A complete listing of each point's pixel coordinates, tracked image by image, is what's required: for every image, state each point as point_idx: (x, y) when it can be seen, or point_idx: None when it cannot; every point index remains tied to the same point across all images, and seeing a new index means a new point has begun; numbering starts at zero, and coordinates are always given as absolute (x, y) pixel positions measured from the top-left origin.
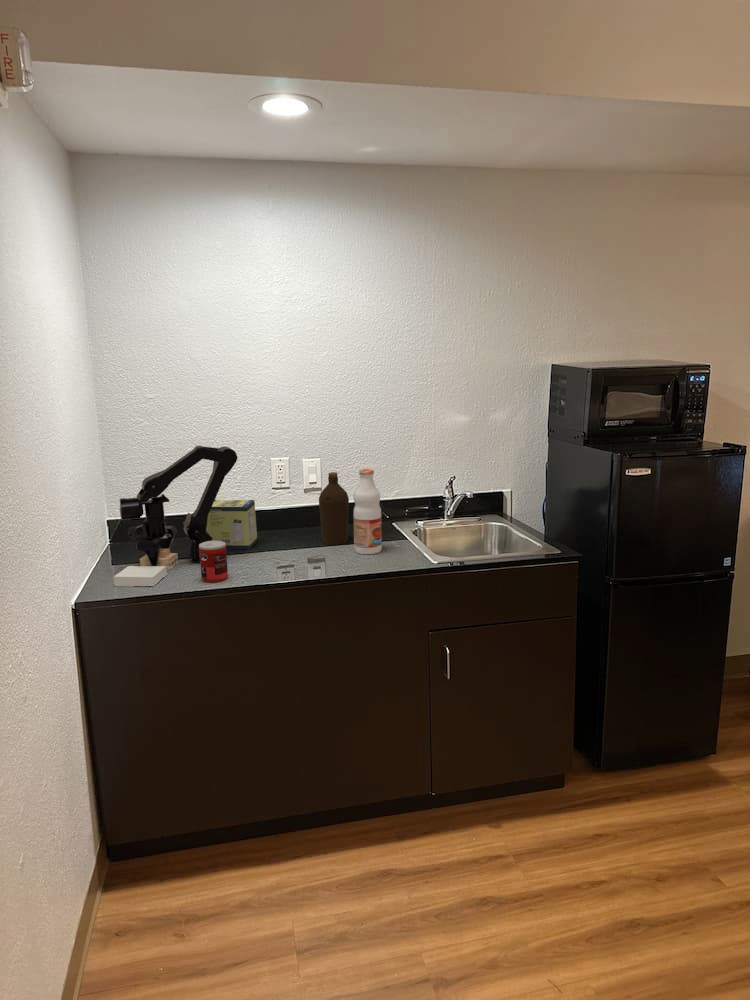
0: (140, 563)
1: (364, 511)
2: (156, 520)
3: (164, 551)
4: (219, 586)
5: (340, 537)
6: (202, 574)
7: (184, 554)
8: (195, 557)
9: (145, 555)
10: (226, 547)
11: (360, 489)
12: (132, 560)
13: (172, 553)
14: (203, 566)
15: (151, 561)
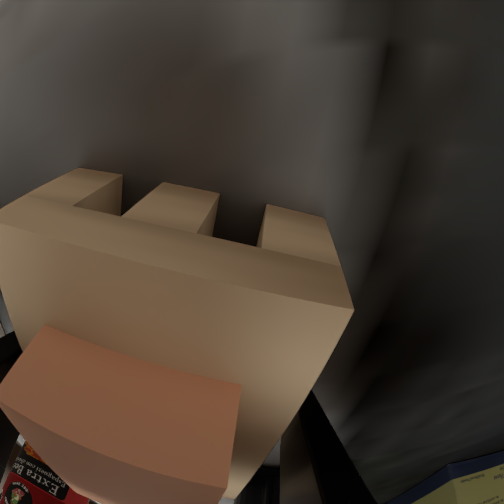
0: (33, 195)
1: None
2: None
3: (91, 498)
4: (22, 442)
5: None
6: (21, 451)
7: (436, 424)
8: (248, 495)
9: (159, 286)
10: (399, 502)
11: None
12: (470, 6)
13: (234, 488)
14: (9, 473)
15: (1, 349)
